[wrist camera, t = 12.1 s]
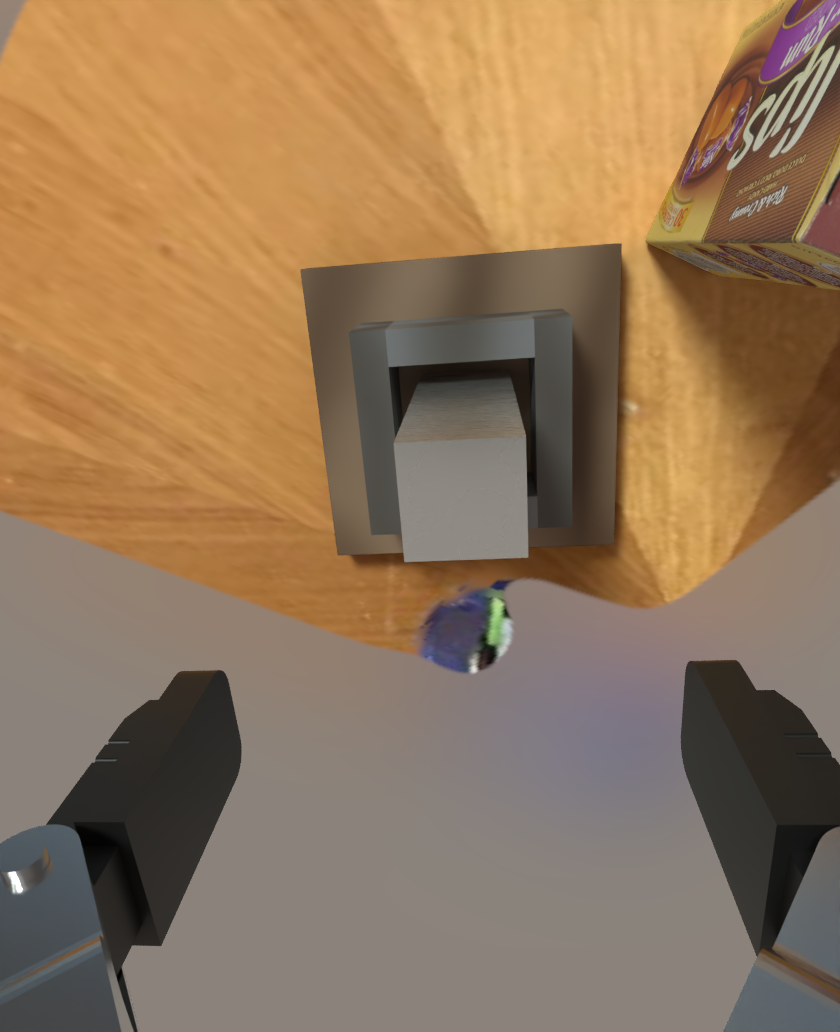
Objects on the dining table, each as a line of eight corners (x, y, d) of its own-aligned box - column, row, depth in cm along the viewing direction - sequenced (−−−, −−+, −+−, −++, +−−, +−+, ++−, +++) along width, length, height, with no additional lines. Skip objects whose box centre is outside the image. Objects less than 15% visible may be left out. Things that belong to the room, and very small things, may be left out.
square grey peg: (508, 368, 32) (525, 436, 21) (510, 452, 33) (528, 557, 22) (421, 374, 32) (393, 442, 21) (427, 457, 34) (404, 562, 23)
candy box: (729, 281, 31) (937, 311, 17) (641, 244, 31) (780, 245, 17) (842, 63, 28) (1215, -120, 14) (746, 20, 28) (1026, -211, 14)
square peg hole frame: (614, 243, 31) (639, 243, 27) (608, 532, 36) (628, 575, 32) (307, 268, 33) (279, 272, 28) (342, 543, 38) (324, 586, 33)
